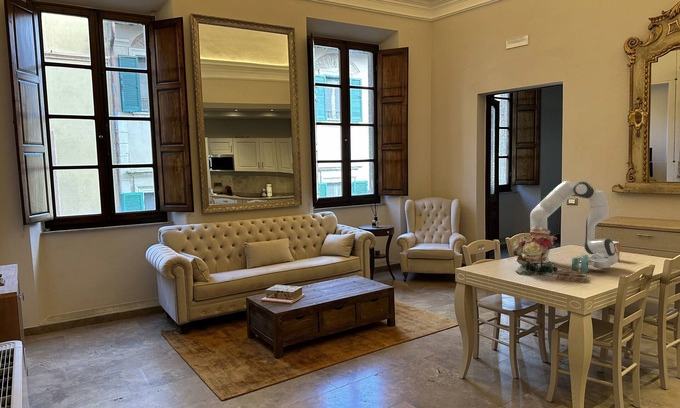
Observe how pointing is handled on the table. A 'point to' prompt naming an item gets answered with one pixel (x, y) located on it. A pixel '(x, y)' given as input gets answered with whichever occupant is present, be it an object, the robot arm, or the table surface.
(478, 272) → the table surface
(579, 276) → the socket board
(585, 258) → the dowel
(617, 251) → the small box
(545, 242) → the rose bouquet
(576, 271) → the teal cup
